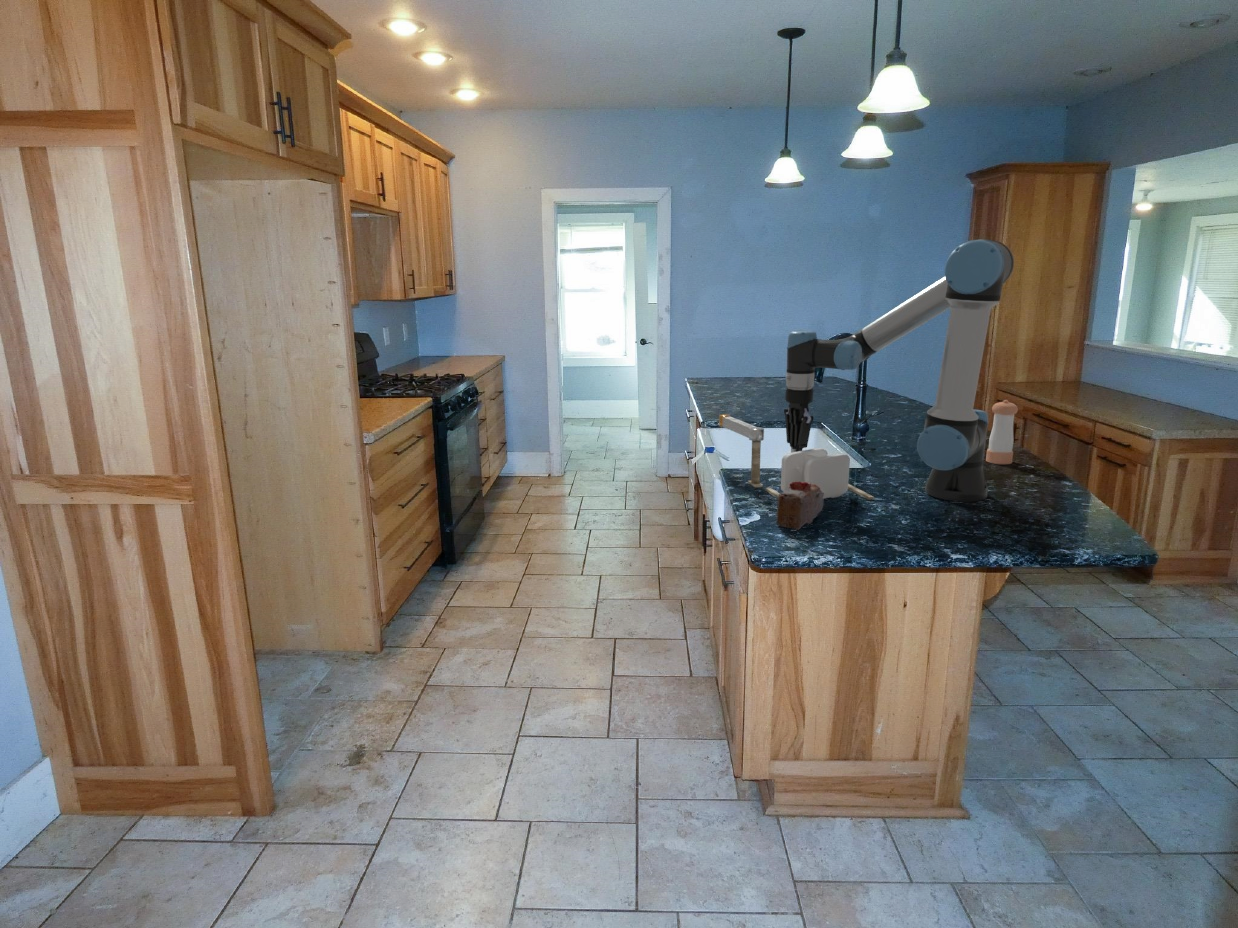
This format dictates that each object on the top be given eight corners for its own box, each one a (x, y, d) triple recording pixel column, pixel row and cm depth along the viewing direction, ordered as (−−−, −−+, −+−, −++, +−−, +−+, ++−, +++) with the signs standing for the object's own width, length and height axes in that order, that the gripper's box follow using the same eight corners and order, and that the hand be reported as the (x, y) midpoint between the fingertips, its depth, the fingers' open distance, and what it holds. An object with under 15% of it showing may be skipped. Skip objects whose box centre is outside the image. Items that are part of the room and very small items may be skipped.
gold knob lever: (727, 424, 225) (728, 414, 224) (766, 440, 203) (766, 429, 202) (716, 425, 224) (716, 415, 223) (753, 441, 202) (753, 430, 201)
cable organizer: (805, 504, 190) (807, 461, 187) (778, 494, 199) (780, 453, 196) (848, 495, 197) (851, 453, 194) (820, 485, 206) (822, 445, 203)
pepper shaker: (1016, 464, 223) (1024, 402, 218) (992, 464, 223) (999, 402, 218) (1005, 458, 230) (1012, 397, 225) (981, 458, 230) (988, 398, 225)
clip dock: (873, 499, 193) (876, 452, 189) (786, 508, 187) (788, 460, 184) (826, 475, 216) (828, 432, 212) (747, 482, 210) (748, 439, 207)
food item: (793, 510, 186) (795, 472, 183) (824, 515, 182) (826, 477, 179) (773, 526, 175) (774, 486, 173) (805, 532, 171) (807, 491, 168)
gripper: (776, 384, 208) (773, 465, 214) (798, 392, 195) (794, 477, 202) (800, 383, 209) (796, 463, 216) (823, 390, 197) (819, 474, 203)
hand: (795, 469), depth 209 cm, fingers closed
